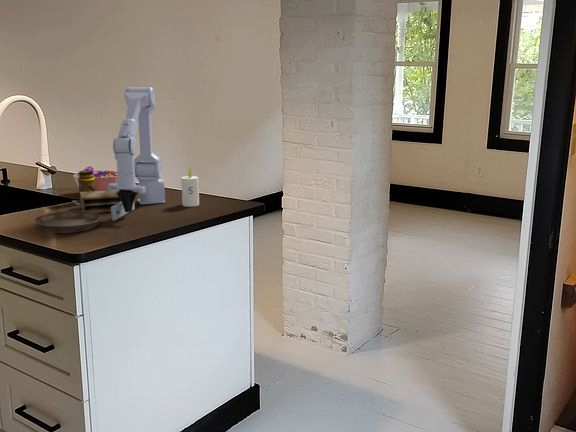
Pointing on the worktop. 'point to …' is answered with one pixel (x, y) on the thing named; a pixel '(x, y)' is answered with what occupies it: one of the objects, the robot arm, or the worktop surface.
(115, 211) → the door
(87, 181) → the condiment
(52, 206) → the worktop surface
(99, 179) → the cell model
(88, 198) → the cabinet
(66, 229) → the plant saucer
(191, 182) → the candle
